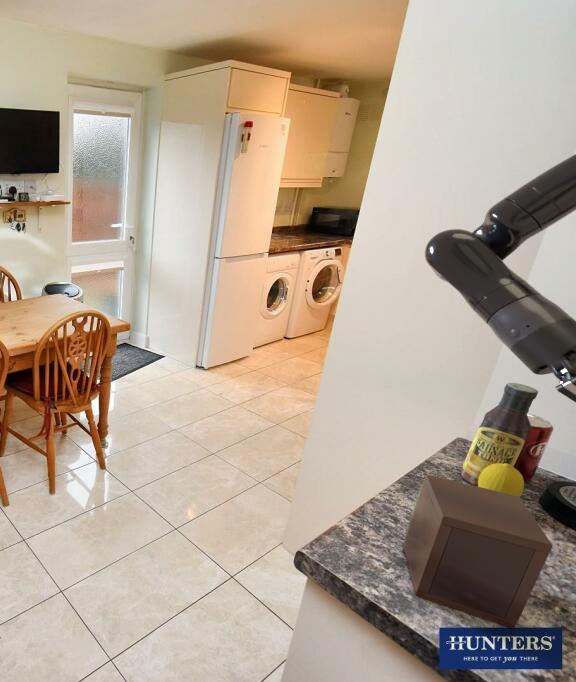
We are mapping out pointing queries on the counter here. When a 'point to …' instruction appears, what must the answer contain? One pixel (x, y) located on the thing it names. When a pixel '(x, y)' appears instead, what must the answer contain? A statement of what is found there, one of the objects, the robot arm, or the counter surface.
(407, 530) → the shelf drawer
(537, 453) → the soda can
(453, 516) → the box
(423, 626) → the counter surface
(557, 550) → the counter surface
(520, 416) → the sauce bottle
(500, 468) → the lemon
